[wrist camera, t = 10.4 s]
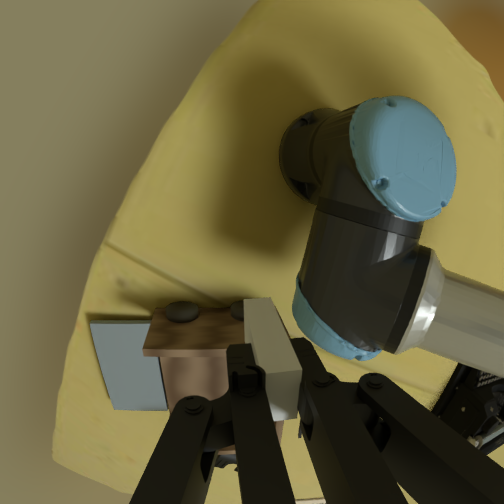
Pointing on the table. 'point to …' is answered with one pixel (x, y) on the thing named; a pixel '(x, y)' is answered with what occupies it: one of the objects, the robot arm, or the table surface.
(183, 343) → the box
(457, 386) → the typewriter
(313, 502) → the newspaper
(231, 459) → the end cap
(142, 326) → the panel
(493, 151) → the table surface
